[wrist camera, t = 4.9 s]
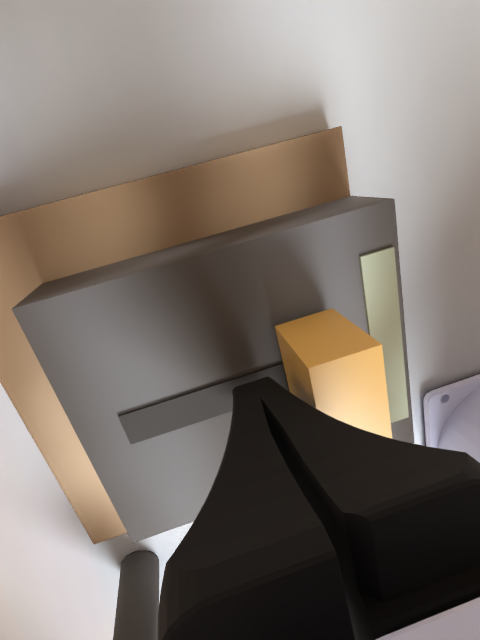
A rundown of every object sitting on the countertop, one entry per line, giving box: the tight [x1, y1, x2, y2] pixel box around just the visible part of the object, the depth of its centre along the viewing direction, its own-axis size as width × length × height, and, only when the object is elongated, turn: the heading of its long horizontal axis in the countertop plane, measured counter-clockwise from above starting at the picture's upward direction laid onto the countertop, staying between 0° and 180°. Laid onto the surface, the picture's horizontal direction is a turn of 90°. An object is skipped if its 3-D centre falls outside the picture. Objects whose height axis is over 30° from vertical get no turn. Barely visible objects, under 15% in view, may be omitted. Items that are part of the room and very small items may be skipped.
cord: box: [113, 551, 159, 640], centre depth 17 cm, size 2×2×6 cm
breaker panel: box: [0, 126, 414, 544], centre depth 15 cm, size 15×15×4 cm
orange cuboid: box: [275, 308, 392, 439], centre depth 12 cm, size 2×4×3 cm, turn 14°
